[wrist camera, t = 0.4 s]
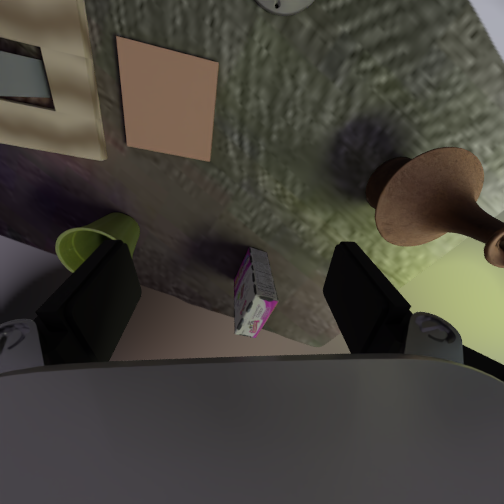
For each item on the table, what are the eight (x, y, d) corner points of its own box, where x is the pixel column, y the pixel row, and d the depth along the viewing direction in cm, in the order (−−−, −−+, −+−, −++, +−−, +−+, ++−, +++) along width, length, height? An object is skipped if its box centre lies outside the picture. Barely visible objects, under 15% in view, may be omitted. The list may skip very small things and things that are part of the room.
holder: (-105, -55, 26) (-128, -66, 24) (83, -2, 29) (74, -8, 27) (-24, 134, 37) (-37, 136, 35) (107, 158, 40) (101, 160, 38)
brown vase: (456, 154, 43) (713, 214, 20) (401, 229, 52) (535, 331, 29) (380, 125, 40) (586, 156, 16) (335, 211, 48) (427, 311, 25)
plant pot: (80, 227, 47) (42, 257, 37) (111, 189, 43) (76, 213, 33) (131, 259, 52) (108, 294, 43) (163, 229, 48) (145, 259, 39)
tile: (119, 37, 31) (116, 35, 30) (218, 63, 34) (218, 62, 33) (129, 145, 39) (127, 145, 38) (210, 160, 41) (209, 161, 40)
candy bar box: (251, 284, 59) (256, 339, 45) (233, 280, 57) (232, 334, 44) (268, 251, 53) (280, 302, 39) (249, 245, 52) (253, 295, 38)
